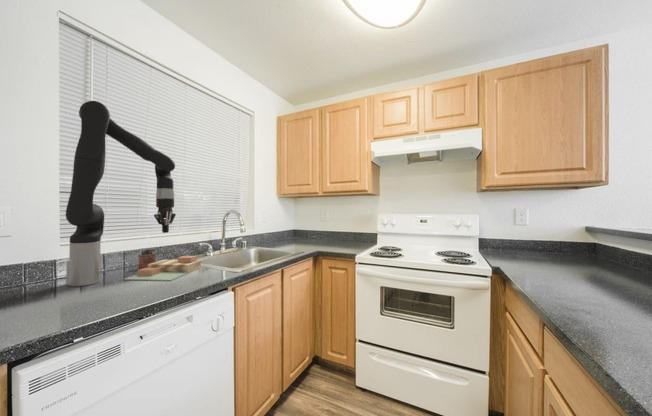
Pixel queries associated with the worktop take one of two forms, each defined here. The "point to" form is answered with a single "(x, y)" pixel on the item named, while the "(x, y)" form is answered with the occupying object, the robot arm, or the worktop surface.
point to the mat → (159, 276)
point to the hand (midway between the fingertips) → (165, 232)
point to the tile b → (187, 259)
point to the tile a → (148, 271)
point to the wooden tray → (175, 266)
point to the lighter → (146, 258)
